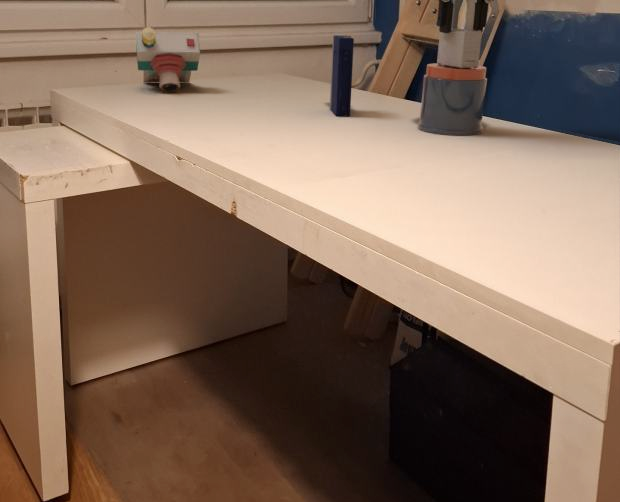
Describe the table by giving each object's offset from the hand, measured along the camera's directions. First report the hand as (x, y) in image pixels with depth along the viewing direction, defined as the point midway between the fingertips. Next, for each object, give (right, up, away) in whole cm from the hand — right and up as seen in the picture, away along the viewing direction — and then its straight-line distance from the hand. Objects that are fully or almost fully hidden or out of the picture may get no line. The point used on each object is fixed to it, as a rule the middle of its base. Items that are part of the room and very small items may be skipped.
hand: (460, 31), depth 108 cm
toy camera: (-49, +4, +37) cm, 62 cm away
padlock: (0, -4, +2) cm, 5 cm away
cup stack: (0, -12, +6) cm, 14 cm away
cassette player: (-17, -7, +17) cm, 25 cm away
